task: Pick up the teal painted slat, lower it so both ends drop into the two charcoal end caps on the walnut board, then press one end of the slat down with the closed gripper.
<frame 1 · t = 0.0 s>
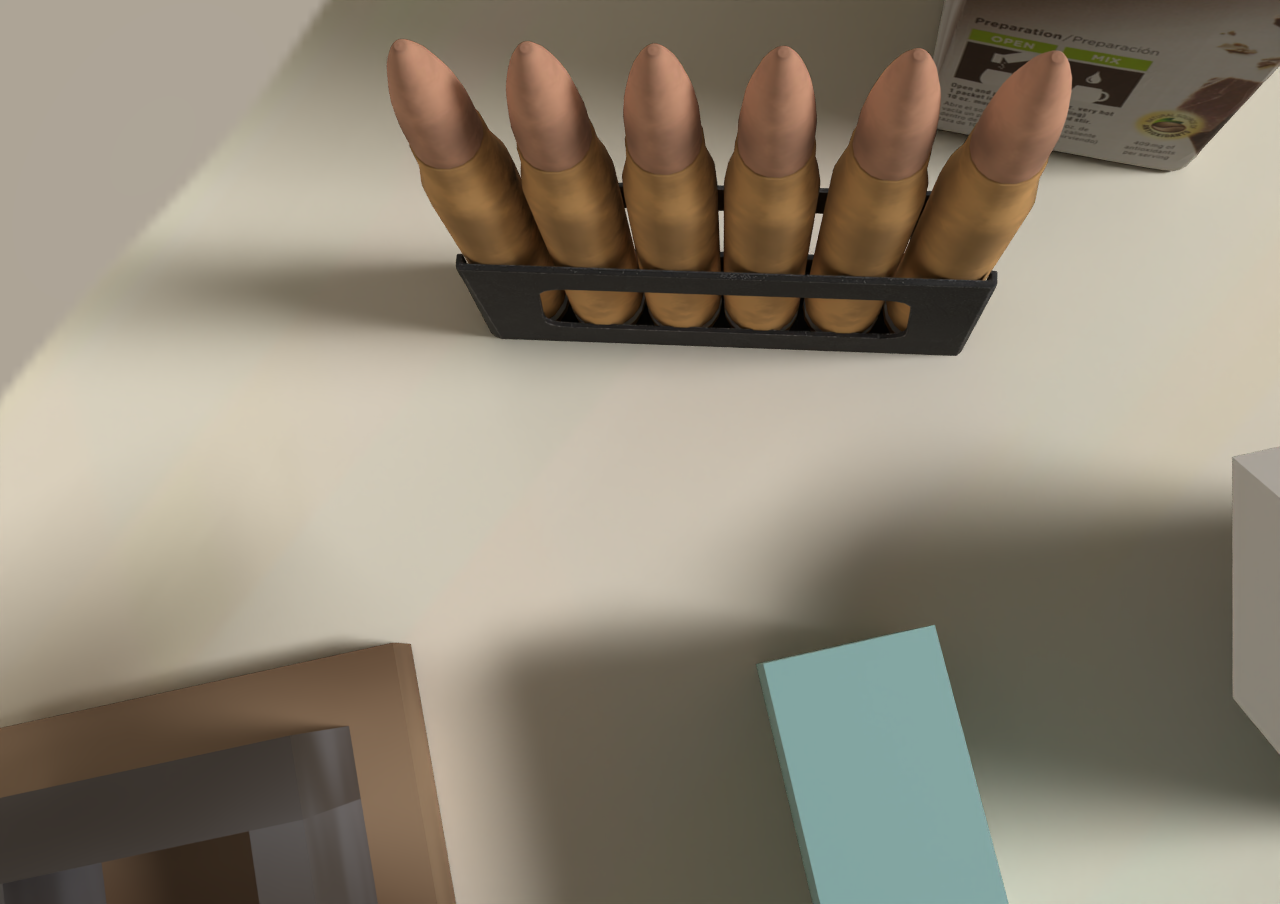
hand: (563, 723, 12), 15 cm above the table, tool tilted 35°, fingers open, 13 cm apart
ammunition clip: (724, 310, 28), on the table
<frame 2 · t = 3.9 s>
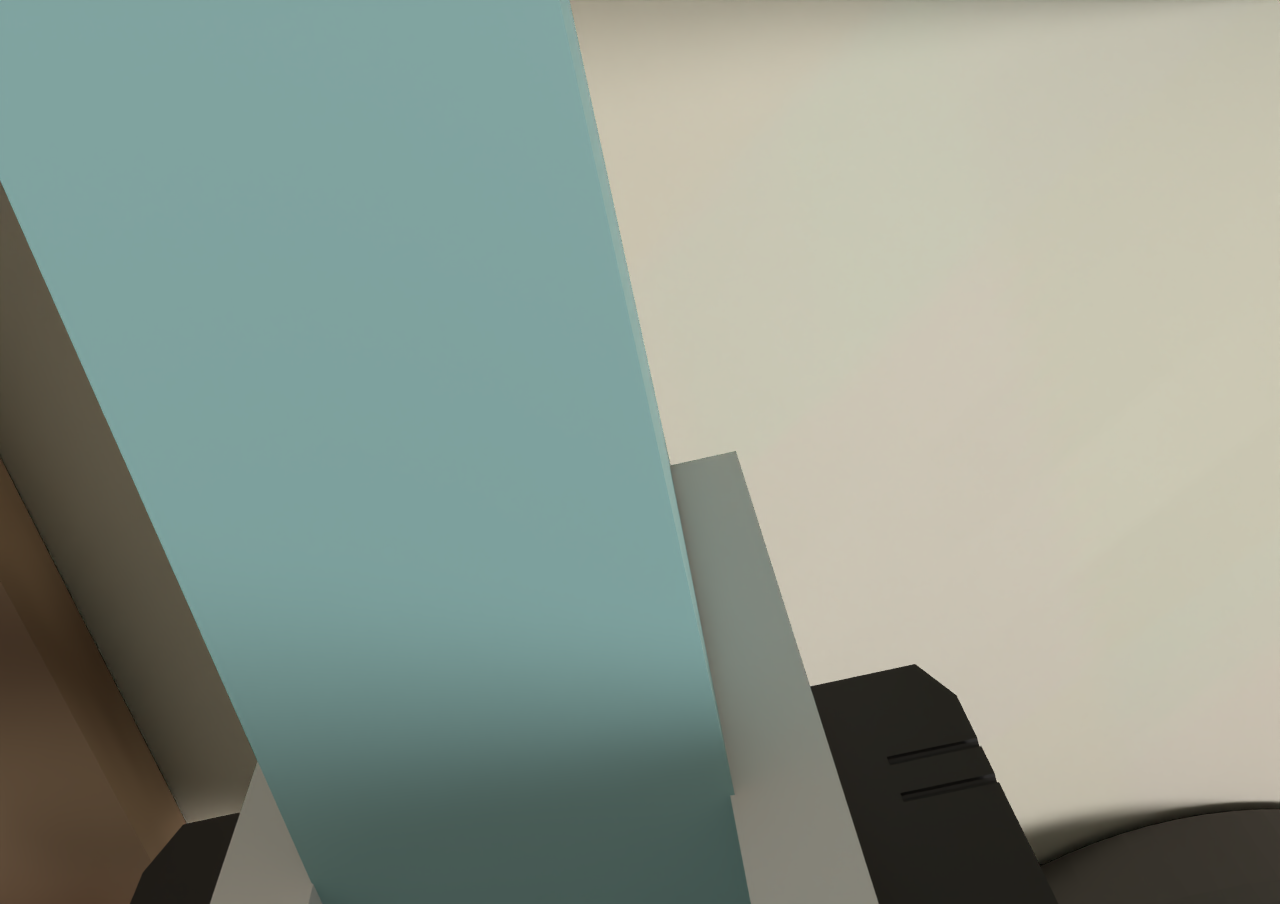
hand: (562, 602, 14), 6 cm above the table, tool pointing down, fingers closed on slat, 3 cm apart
slat: (554, 536, 14), point 5 cm above the table, touching gripper
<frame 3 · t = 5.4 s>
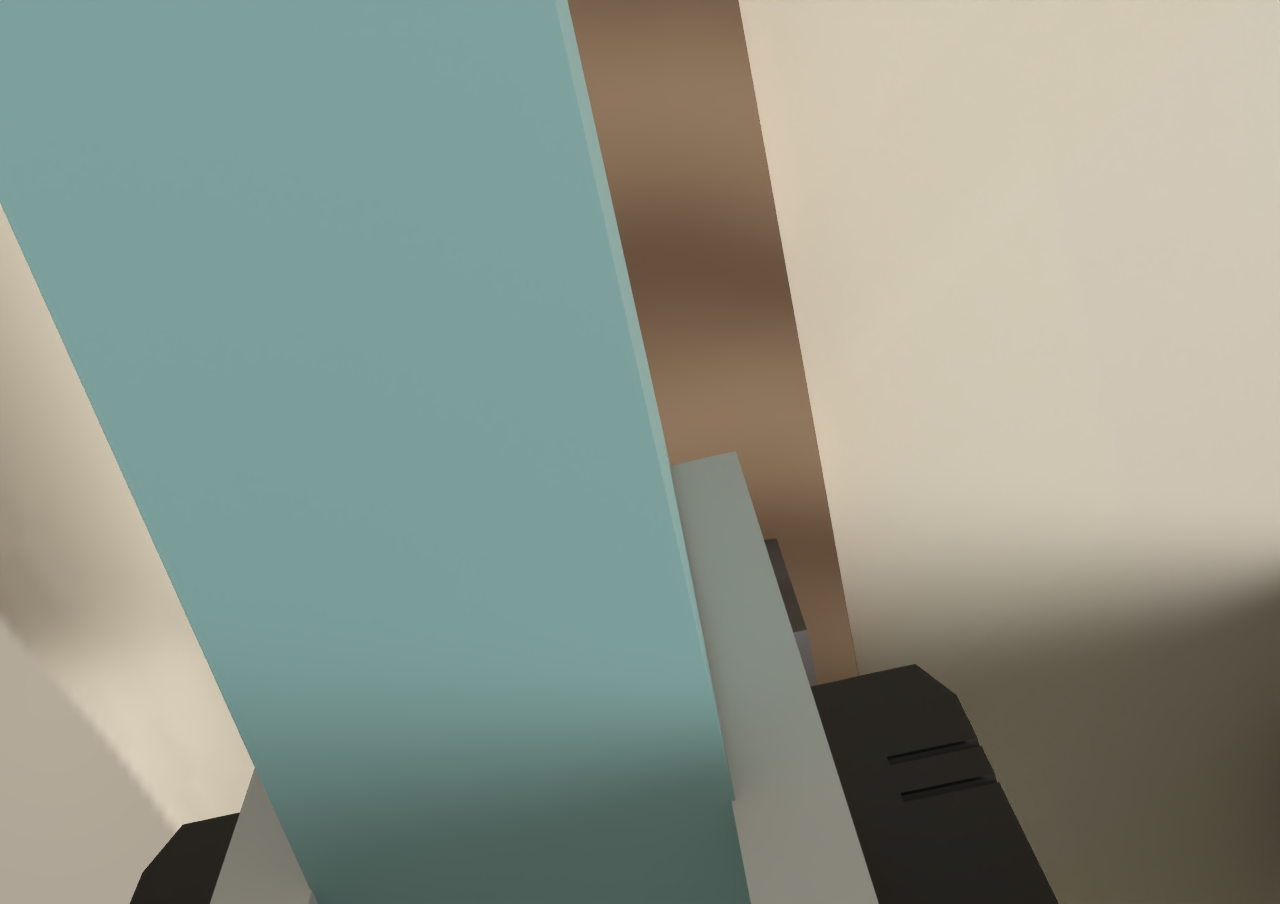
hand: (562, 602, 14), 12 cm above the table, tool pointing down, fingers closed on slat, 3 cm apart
slat: (553, 533, 14), point 12 cm above the table, touching gripper
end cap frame: (557, 290, 25), on the table
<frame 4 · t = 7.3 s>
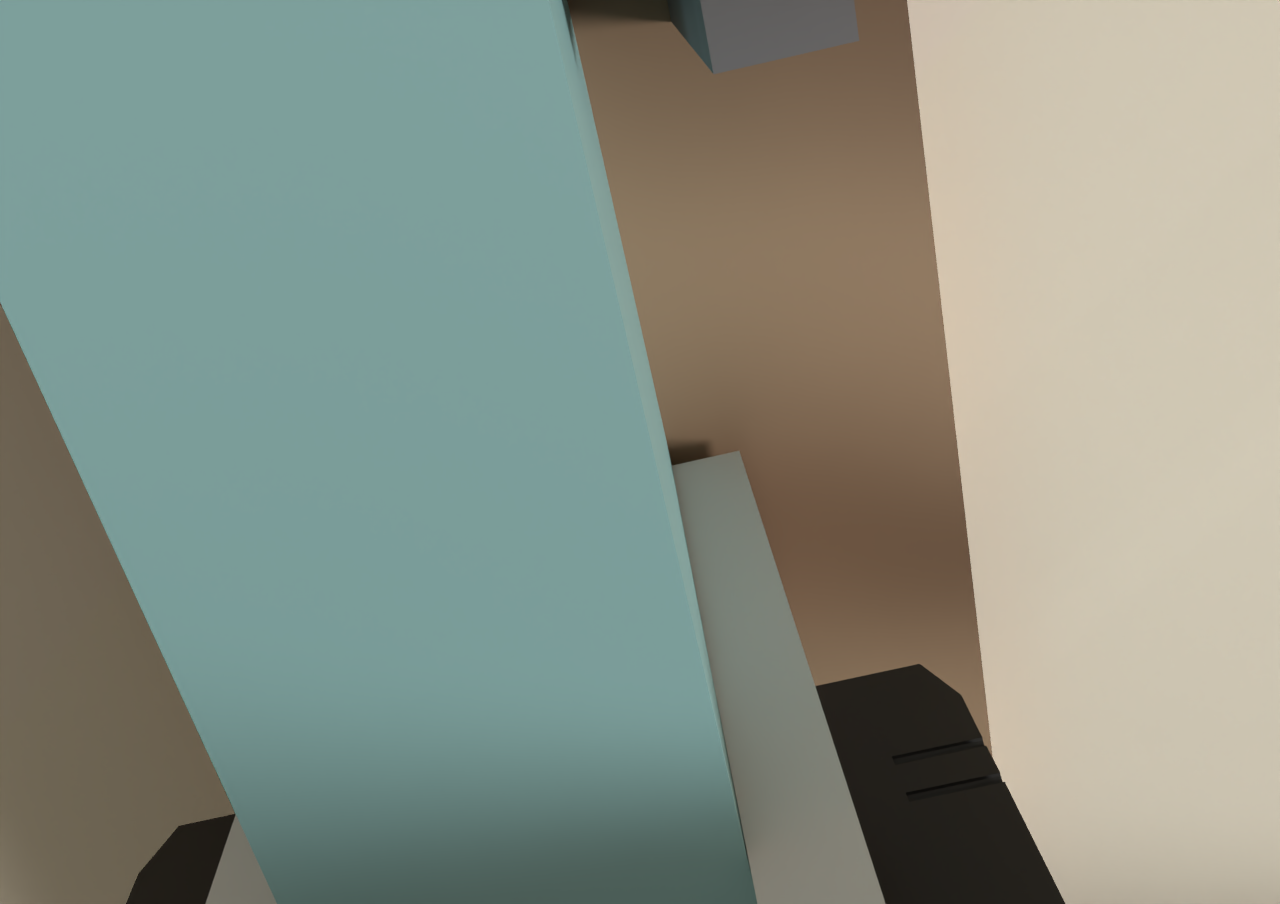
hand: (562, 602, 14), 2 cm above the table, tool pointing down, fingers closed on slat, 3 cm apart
slat: (557, 563, 14), point 1 cm above the table, touching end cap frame, gripper
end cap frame: (577, 542, 15), on the table
when the fingers open (2 cm above the table, at t = 7.3 s): slat stays where it is, resting on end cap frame.
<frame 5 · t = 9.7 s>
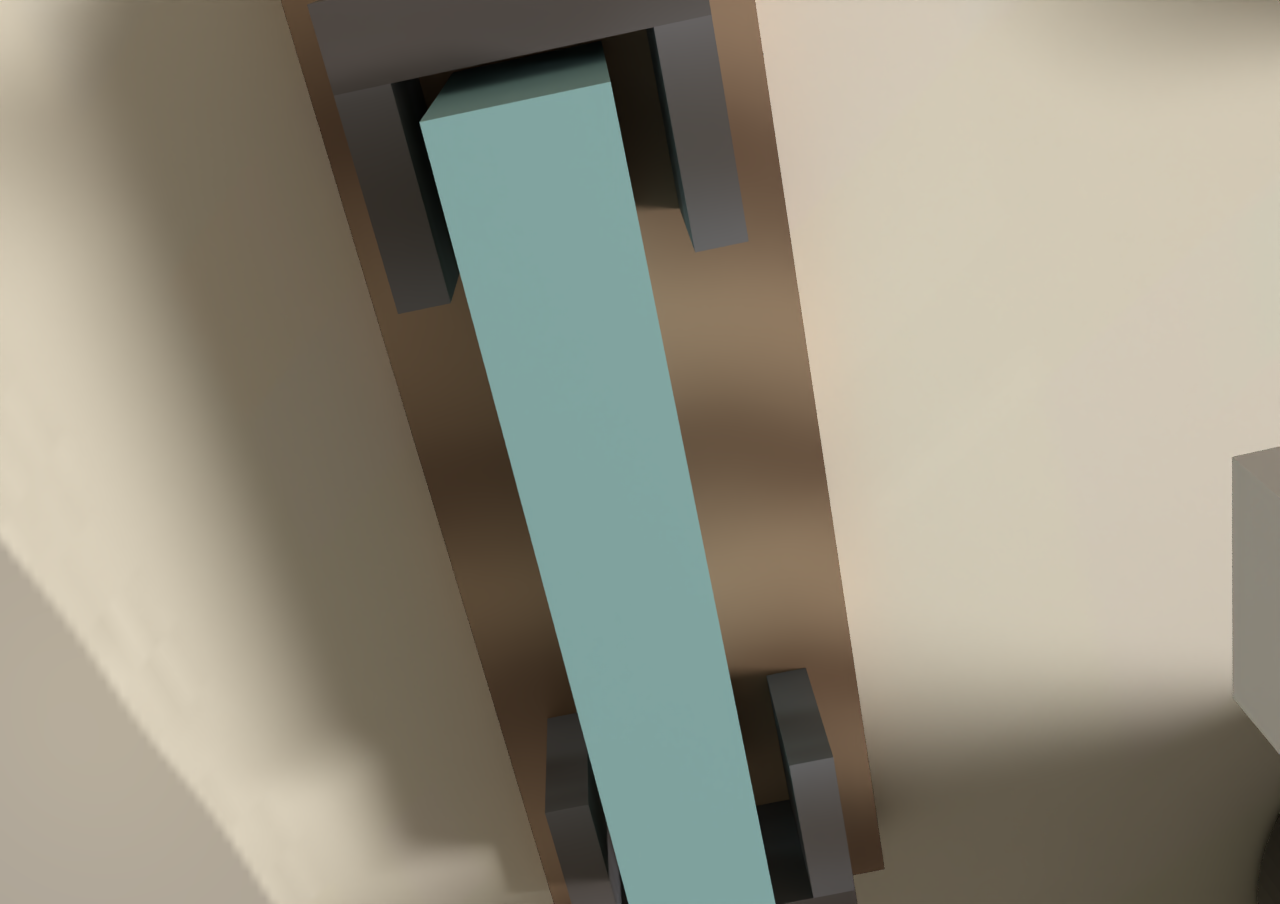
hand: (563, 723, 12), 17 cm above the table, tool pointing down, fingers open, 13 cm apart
slat: (618, 460, 28), point 1 cm above the table, touching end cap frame
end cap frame: (625, 455, 30), on the table
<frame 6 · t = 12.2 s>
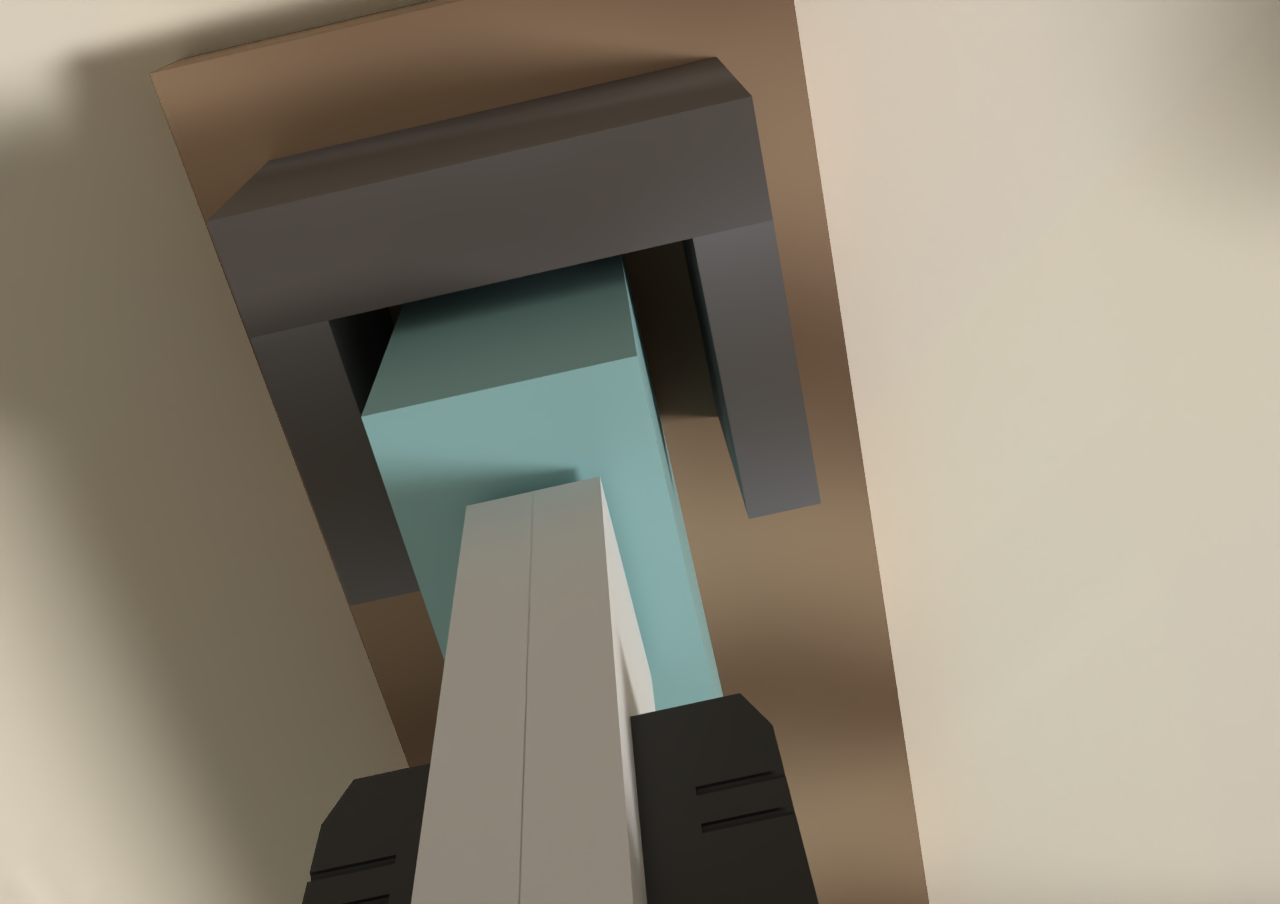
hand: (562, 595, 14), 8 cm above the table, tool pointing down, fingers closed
slat: (641, 711, 22), point 1 cm above the table, touching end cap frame, gripper
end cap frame: (649, 687, 24), on the table
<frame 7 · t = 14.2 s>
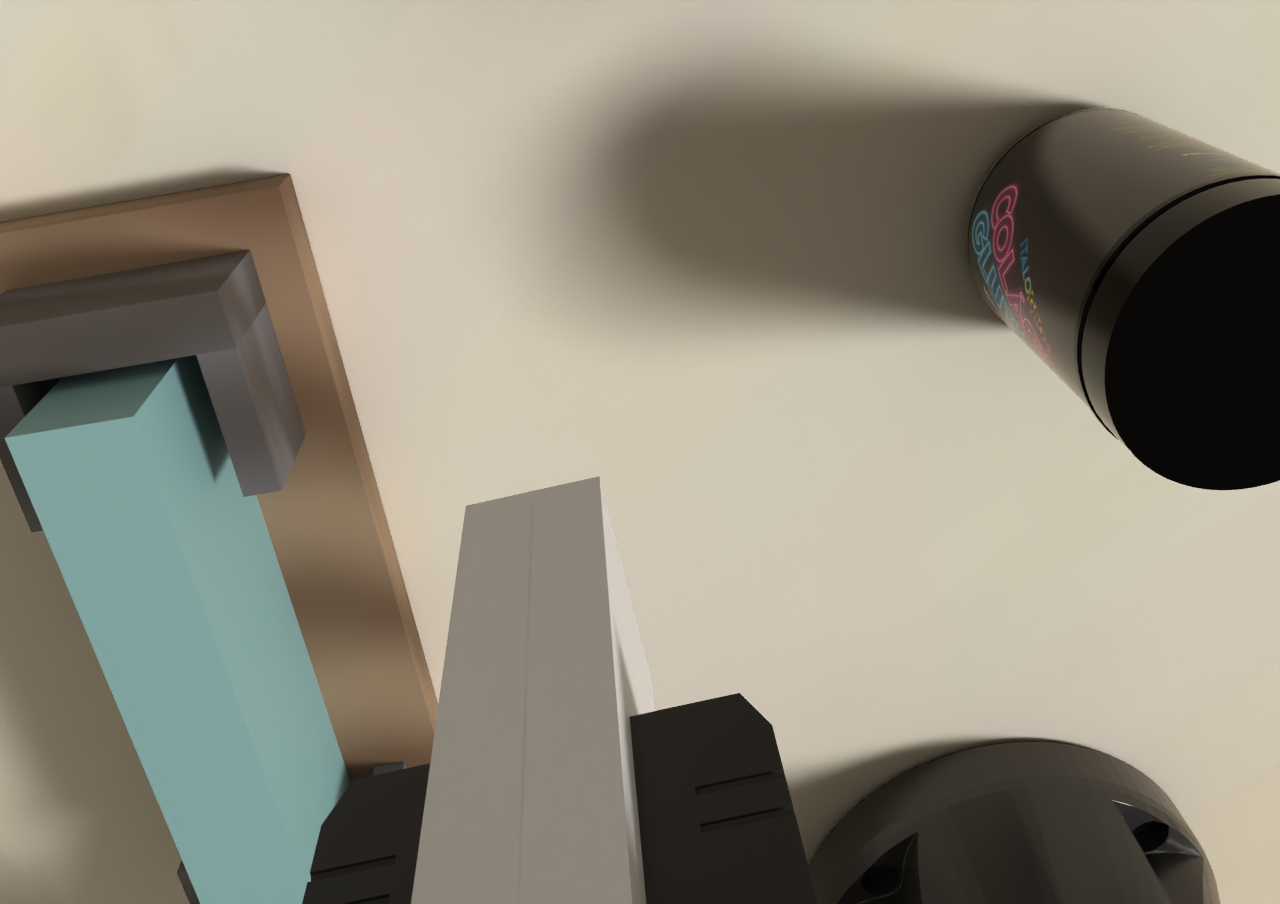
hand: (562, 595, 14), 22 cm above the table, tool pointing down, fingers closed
slat: (243, 611, 37), point 1 cm above the table, touching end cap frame
supplement container: (1069, 219, 35), on the table
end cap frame: (263, 600, 39), on the table
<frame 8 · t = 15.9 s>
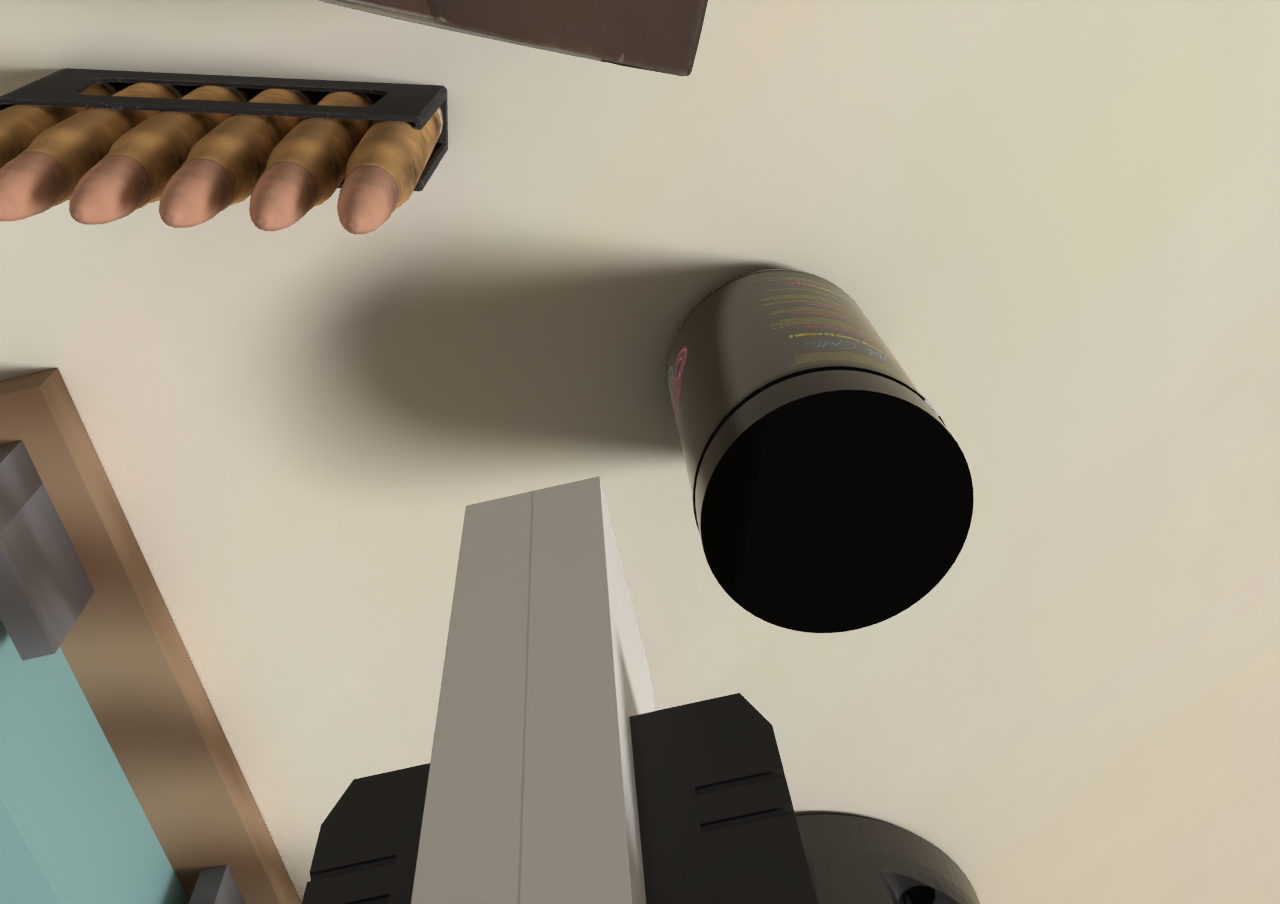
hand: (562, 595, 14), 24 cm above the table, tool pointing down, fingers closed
slat: (62, 743, 42), point 1 cm above the table, touching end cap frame
supplement container: (767, 360, 39), on the table
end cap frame: (87, 728, 43), on the table
ammunition clip: (259, 109, 35), on the table
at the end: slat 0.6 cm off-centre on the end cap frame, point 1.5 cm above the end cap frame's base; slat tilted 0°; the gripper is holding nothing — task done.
